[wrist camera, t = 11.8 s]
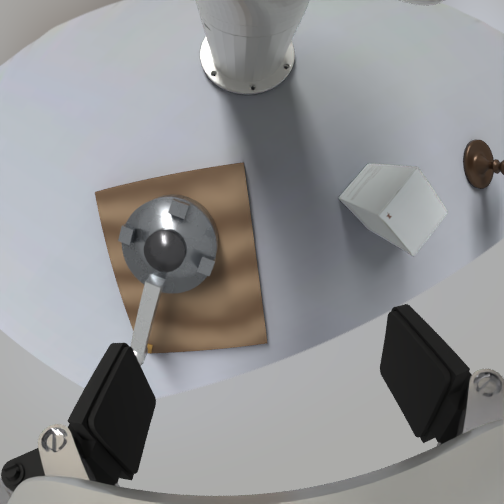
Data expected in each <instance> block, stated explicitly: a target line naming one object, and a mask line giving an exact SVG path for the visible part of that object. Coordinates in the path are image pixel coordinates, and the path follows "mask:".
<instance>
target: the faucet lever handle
mask: <svg viewBox="0 0 504 504" xmlns="http://www.w3.org/2000/svg"><path fill="white" fill-rule="evenodd" d="M118 241H120V242H122V251H123V256H124V259H125V262H126V264H127V266H128V268H129V269H130V271H131V272H132V274H133V275H134V276H135V277H136V278H137V279H138V280H139V281H140V282H141V283H143V284H144V289H143V293H142V297H141V301H140V305H139V309H138V314H137V318H136V323H135V327H134V332H133V337H132V342H131V347H132V348H133V350H134V353H135V355H136V357H137V359H138V362H139V364H140V366H141V365H142V364H143V362H144V360H145V357H146V355H147V353H148V348H147V345H148V341H149V337H150V333H151V329H152V325H153V322H154V318H155V314H156V311H157V307H158V303H159V300H160V296H161V293H162V292H163V293H171V294H172V293H182V292H185V291H189V290H191V289H193V288H195V287H196V286H198V285H199V284H200V283H202V282H203V281H204V280H205V279H206V277H207V276H210V274H211V271H212V269H213V266H214V264H215V261H216V254H217V250H218V241H219V238H218V231H217V227H216V224H215V221H214V219H213V218H212V216H211V214H210V213H209V212H208V210H207V209H206V208H205V207H204V206H203V205H201V204H200V203H199V202H197V201H196V200H194V199H192V198H189V197H187V196H183V195H177V194H170V195H164V196H160V197H157V198H155V199H153V200H151V201H149V202H147V203H145V204H143V205H141V206H140V207H139V208H137V209H136V210H135V211H134V212H133V213H132V214H131V216H130V217H129V219H128V220H127V222H126V224H124V225H122V227H121V231H120V235H119V239H118Z"/></svg>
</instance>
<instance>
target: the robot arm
mask: <svg viewBox="0 0 504 504" xmlns="http://www.w3.org/2000/svg"><path fill="white" fill-rule="evenodd" d="M195 1H196V4H197V7H198V10H199V14H200V17H201V20H202V24H203V27H204V31H205V34H206V37H205V39H204V41H203V43H202V46H201V50H200V60H201V64H202V67H203V69H204V71H205V73H206V75H207V76H208V78H209V79H210V80H211V81H212V82H213V83H214V84H216V85H217V86H219V87H220V88H222V89H225V90H227V91H229V92H233V93H237V94H246V95H247V94H258V93H262V92H266V91H268V90H270V89H273V88H274V87H276V86H277V85H279V84H280V83H281V82H282V81H283V80H285V79H286V77H287V76H288V74H289V73H290V71H291V69H292V67H293V64H294V60H295V51H294V46H293V44H292V39H293V37H294V34H295V32H296V30H297V28H298V26H299V24H300V22H301V20H302V17H303V15H304V13H305V11H306V9H307V6H308V3H309V0H195ZM400 1H403V2H406V3H410V4H415V5H434V4H438V3H441V2H443V1H444V0H400ZM284 67H287V69H285V68H284ZM213 74H216V76H212V75H213ZM252 87H254V88H255V89H254V90H251V88H252ZM469 370H470V369H469V367H468V366H467V365H466V364H465V363H464V362H463V361H462V360H461V359H460V357H459V356H458V355H457V354H456V353H455V352H454V351H453V350H452V349H451V348H450V347H449V346H448V345H447V344H446V342H445V341H444V340H443V339H442V338H441V337H440V336H439V335H438V334H437V333H436V332H435V331H434V330H433V329H432V328H431V327H430V326H429V325H428V324H427V323H426V322H425V321H424V320H423V319H422V318H421V317H420V316H419V315H418V314H417V313H416V312H415V311H414V310H413V309H412V308H411V307H410V306H409V305H407V304H405V305H401V306H397V307H394V308H393V309H392V311H391V312H390V313H389V314H388V319H387V327H386V334H385V340H384V347H383V353H382V358H381V364H380V372H381V375H382V377H383V379H384V380H385V382H386V384H387V386H388V387H389V389H390V391H391V393H392V394H393V396H394V398H395V400H396V402H397V403H398V405H399V407H400V408H401V410H402V412H403V414H404V416H405V418H406V420H407V421H408V423H409V425H410V427H411V429H412V431H413V433H414V434H415V436H416V437H420V438H421V440H422V442H423V443H424V442H427V441H429V440H431V439H433V438H436V440H437V442H438V444H437V447H435V448H432V449H430V450H428V451H426V452H423V453H421V454H419V455H417V456H414V457H411V458H409V459H406V460H404V461H401V462H399V463H396V464H393V465H391V466H388V467H385V468H383V469H380V470H376V471H373V472H370V473H367V474H364V475H360V476H357V477H353V478H349V479H346V480H342V481H338V482H333V483H329V484H324V485H320V486H315V487H310V488H304V489H299V490H292V491H284V492H276V493H267V494H257V495H256V494H255V495H239V496H194V495H177V494H166V493H157V492H150V491H143V490H135V489H129V488H123V487H120V486H119V485H118V479H119V478H123V479H128V480H132V479H133V475H134V474H135V473H137V472H138V468H139V464H140V461H141V457H142V453H143V449H144V445H145V441H146V438H147V434H148V430H149V426H150V422H151V419H152V416H153V412H154V409H155V405H156V399H155V396H154V394H153V392H152V390H151V388H150V386H149V384H148V381H147V379H146V377H145V375H144V373H143V371H142V369H141V366H140V364H139V362H138V359H137V357H136V355H135V353H134V350H133V348H132V347H129V346H128V344H126V343H112V344H111V345H110V346H109V348H108V349H107V351H106V353H105V354H104V356H103V358H102V359H101V361H100V363H99V365H98V366H97V368H96V370H95V371H94V373H93V375H92V377H91V378H90V380H89V382H88V384H87V386H86V387H85V389H84V391H83V393H82V395H81V396H80V398H79V400H78V402H77V404H76V406H75V408H74V409H73V411H72V413H71V415H70V417H69V419H68V422H69V423H70V424H69V426H68V428H67V427H66V426H64V425H61V424H54V425H51V426H49V427H47V428H46V429H44V430H43V431H42V433H41V434H40V436H39V439H38V448H37V449H35V450H33V451H30V452H28V453H26V454H24V455H21V456H19V457H17V458H14V459H12V460H10V461H8V462H7V463H6V464H5V465H4V467H3V469H2V473H1V476H2V479H0V504H504V379H503V377H502V376H501V375H500V374H499V373H498V372H496V371H494V370H491V369H481V370H478V371H476V372H474V373H473V375H471V373H470V372H469Z"/></svg>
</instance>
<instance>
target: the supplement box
mask: <svg viewBox="0 0 504 504" xmlns="http://www.w3.org/2000/svg"><path fill="white" fill-rule="evenodd" d="M338 199H339V200H340V201H341V202H342V203H343V204H344V205H345V206H346V207H347V208H348V209H349V210H350V211H351V212H352V213H353V214H354V215H355V216H356V217H357V218H358V219H359V220H360V221H361V223H362V224H363V225H364V226H365V227H366V228H367V229H368V230H369V231H371V232H373V233H375V234H376V235H378V236H380V237H382V238H383V239H385V240H387V241H388V242H390V243H392V244H393V245H395V246H397V247H398V248H400V249H402V250H403V251H405V252H407V253H408V254H410V255H412V256H415V255H416V253H417V252H418V251H419V250H420V248H421V247H422V246H423V245H424V243H425V242H426V241H427V240H428V238H429V237H430V236H431V235H432V233H433V232H434V231H435V229H436V228H437V227H438V225H439V224H440V223H441V221H442V220H443V219H444V217H445V216H446V215H447V213H448V211H447V210H446V208H445V206H444V205H443V203H442V202H441V200H440V199H439V197H438V196H437V194H436V193H435V191H434V190H433V188H432V187H431V185H430V184H429V182H428V181H427V179H426V178H425V176H424V175H423V173H422V172H421V170H420V169H419V168H418V167H412V166H400V165H387V164H367V165H366V166H365V168H364V169H363V170H362V171H361V172H360V173H359V174H358V176H357V177H356V178H355V179H354V180H353V181H352V183H351V184H350V185H349V186H348V187H347V188H346V190H345V191H344V192H343V193H342V194H341V195H340V197H339V198H338Z"/></svg>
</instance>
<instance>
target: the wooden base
mask: <svg viewBox="0 0 504 504" xmlns="http://www.w3.org/2000/svg"><path fill="white" fill-rule="evenodd" d="M170 194H177V195H183V196H187V197H189V198H192V199H194V200H196V201H197V202H199V203H200V204H201V205H203V206H204V207H205V208H206V209H207V210H208V212H209V213H210V214H211V216H212V218H213V219H214V221H215V224H216V227H217V231H218V238H219V241H218V250H217V254H216V261H215V264H214V266H213V269H212V271H211V274H210V276H207V277H206V279H205V280H204V281H203V282H202V283H200V284H199V285H198V286H196V287H195V288H193V289H191V290H189V291H185V292H182V293H172V294H171V293H163V292H162V293H161V296H160V300H159V303H158V307H157V311H156V314H155V318H154V322H153V325H152V329H151V333H150V337H149V341H148V345H147V348H148V353H150V354H151V353H169V352H186V351H200V350H212V349H223V348H232V347H241V346H250V345H258V344H265V343H267V336H266V328H265V320H264V313H263V305H262V297H261V290H260V282H259V274H258V267H257V259H256V251H255V244H254V236H253V229H252V221H251V214H250V206H249V199H248V191H247V184H246V176H245V169H244V163H236V164H229V165H222V166H216V167H210V168H204V169H198V170H192V171H186V172H181V173H176V174H170V175H165V176H160V177H156V178H151V179H146V180H142V181H137V182H133V183H129V184H124V185H120V186H116V187H112V188H108V189H104V190H101V191H97V192H95V196H96V201H97V206H98V211H99V216H100V220H101V225H102V229H103V233H104V237H105V241H106V245H107V249H108V253H109V257H110V260H111V264H112V267H113V271H114V274H115V278H116V281H117V284H118V287H119V291H120V294H121V297H122V300H123V303H124V306H125V309H126V312H127V314H128V317H129V320H130V323H131V326H132V328H133V331H134V327H135V323H136V318H137V314H138V309H139V305H140V301H141V297H142V293H143V289H144V284H143V283H141V282H140V281H139V280H138V279H137V278H136V277H135V276H134V275H133V274H132V272H131V271H130V269H129V268H128V266H127V264H126V262H125V259H124V256H123V251H122V242H120V241H118V239H119V235H120V231H121V227H122V225H124V224H126V222H127V220H128V219H129V217H130V216H131V214H132V213H133V212H134V211H135V210H136V209H137V208H139V207H140V206H141V205H143V204H145V203H147V202H149V201H151V200H153V199H155V198H157V197H160V196H164V195H170Z"/></svg>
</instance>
